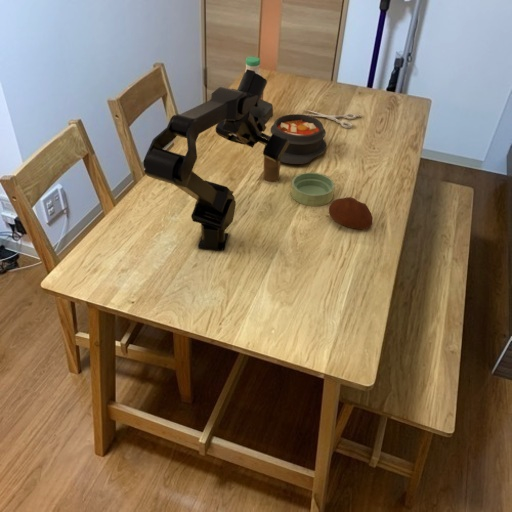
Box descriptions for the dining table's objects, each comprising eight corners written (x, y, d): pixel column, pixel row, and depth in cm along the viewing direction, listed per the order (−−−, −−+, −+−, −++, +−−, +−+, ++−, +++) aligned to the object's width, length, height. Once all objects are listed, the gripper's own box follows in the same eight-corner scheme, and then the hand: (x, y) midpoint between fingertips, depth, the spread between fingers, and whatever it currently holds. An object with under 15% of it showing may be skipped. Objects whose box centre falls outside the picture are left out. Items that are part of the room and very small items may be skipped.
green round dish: (332, 209, 142) (334, 197, 139) (289, 205, 142) (290, 193, 140) (332, 186, 150) (334, 174, 148) (292, 182, 151) (293, 170, 149)
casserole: (317, 174, 155) (320, 148, 150) (256, 163, 159) (257, 138, 153) (332, 136, 174) (335, 112, 168) (277, 127, 177) (279, 103, 172)
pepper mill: (281, 182, 151) (284, 141, 143) (265, 184, 150) (267, 143, 142) (276, 174, 154) (278, 133, 146) (261, 176, 153) (262, 135, 145)
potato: (369, 238, 133) (374, 212, 127) (323, 229, 135) (327, 203, 130) (372, 220, 138) (378, 195, 133) (329, 212, 140) (332, 187, 135)
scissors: (355, 127, 177) (298, 116, 181) (355, 129, 177) (297, 118, 182) (361, 114, 185) (306, 104, 189) (361, 116, 185) (306, 106, 190)
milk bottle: (237, 119, 181) (237, 61, 168) (244, 110, 186) (245, 53, 173) (258, 123, 179) (260, 64, 166) (265, 113, 185) (267, 56, 172)
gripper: (294, 108, 121) (305, 137, 136) (228, 80, 127) (246, 110, 142) (270, 149, 120) (284, 174, 135) (205, 119, 127) (225, 146, 141)
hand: (260, 149), depth 138 cm, fingers open, 9 cm apart
